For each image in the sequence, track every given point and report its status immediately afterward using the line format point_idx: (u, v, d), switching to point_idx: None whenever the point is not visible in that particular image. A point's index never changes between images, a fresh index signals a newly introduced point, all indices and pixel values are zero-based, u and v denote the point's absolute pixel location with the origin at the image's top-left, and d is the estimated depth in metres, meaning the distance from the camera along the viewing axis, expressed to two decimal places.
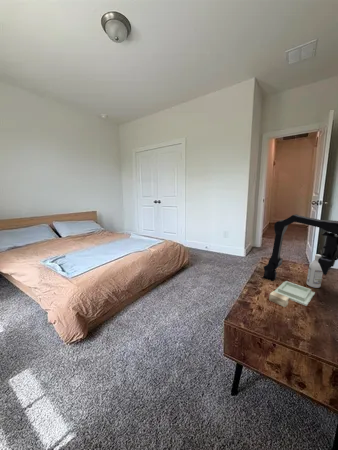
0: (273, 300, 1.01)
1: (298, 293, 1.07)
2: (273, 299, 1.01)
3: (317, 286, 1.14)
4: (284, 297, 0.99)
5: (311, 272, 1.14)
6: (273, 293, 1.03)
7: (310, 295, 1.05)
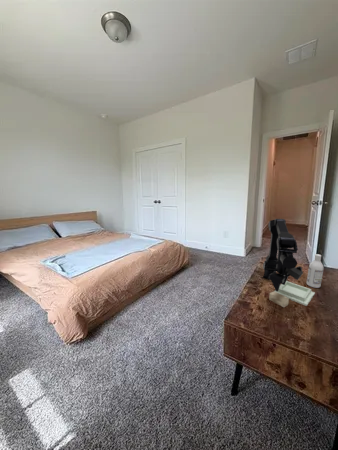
0: (273, 300, 1.02)
1: (298, 293, 1.07)
2: (273, 299, 1.02)
3: (317, 286, 1.14)
4: (284, 297, 0.99)
5: (311, 272, 1.14)
6: (274, 293, 1.03)
7: (310, 295, 1.05)
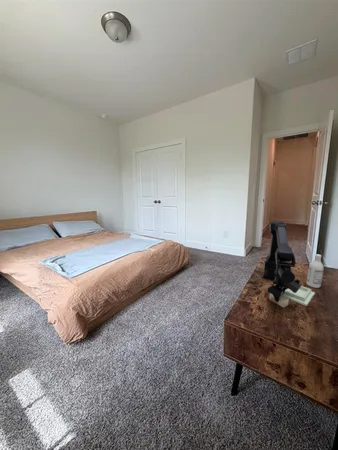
0: (273, 299, 1.02)
1: (298, 293, 1.07)
2: (273, 298, 1.02)
3: (317, 286, 1.14)
4: (284, 297, 0.99)
5: (311, 272, 1.14)
6: None
7: (310, 295, 1.05)
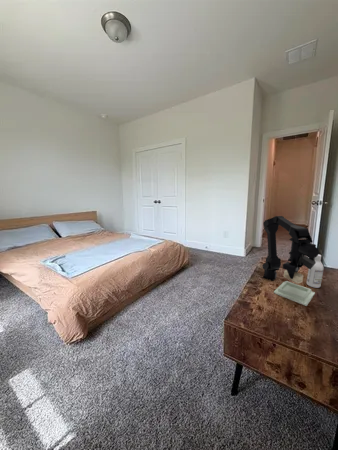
0: (287, 276, 1.06)
1: (298, 293, 1.07)
2: (287, 276, 1.06)
3: (317, 286, 1.14)
4: (298, 274, 1.02)
5: (311, 272, 1.14)
6: None
7: (310, 295, 1.05)
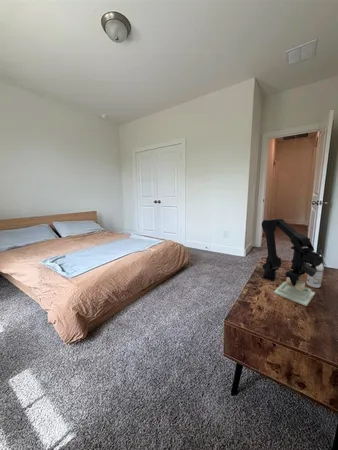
0: (289, 284, 1.08)
1: (298, 293, 1.07)
2: (289, 283, 1.08)
3: (317, 286, 1.14)
4: (300, 281, 1.05)
5: None
6: None
7: (310, 295, 1.05)
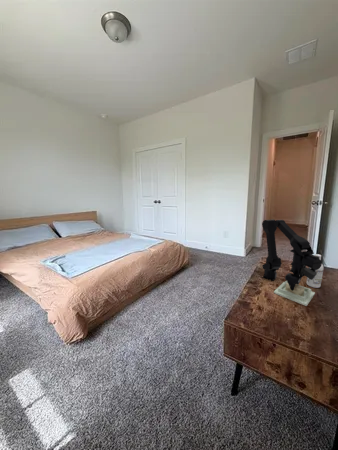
0: (289, 289, 1.09)
1: None
2: (289, 289, 1.09)
3: (317, 286, 1.14)
4: (300, 287, 1.06)
5: None
6: None
7: (310, 295, 1.05)
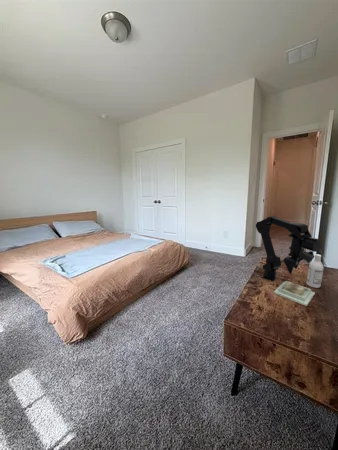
0: (289, 289, 1.09)
1: None
2: (289, 289, 1.09)
3: (317, 286, 1.14)
4: (300, 287, 1.06)
5: (311, 272, 1.14)
6: (290, 283, 1.10)
7: (310, 295, 1.05)
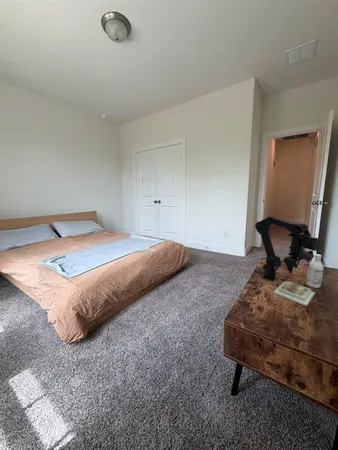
0: (289, 289, 1.09)
1: None
2: (289, 289, 1.09)
3: (317, 286, 1.14)
4: (300, 287, 1.06)
5: (311, 272, 1.14)
6: (290, 283, 1.10)
7: (310, 295, 1.05)
